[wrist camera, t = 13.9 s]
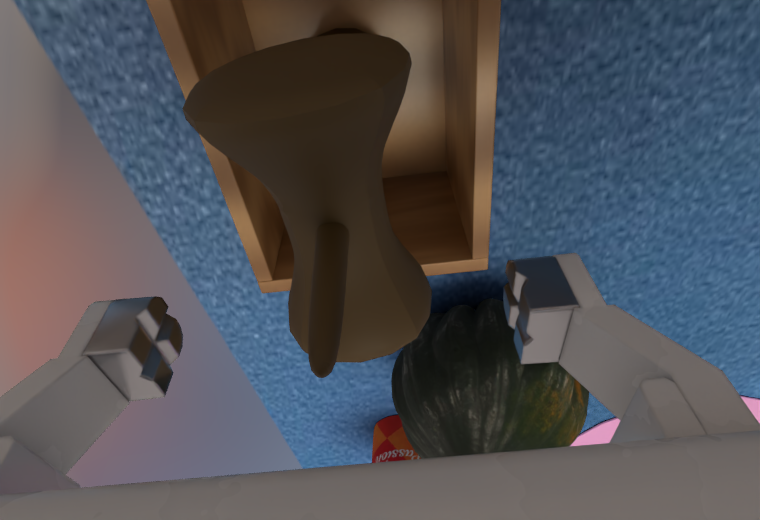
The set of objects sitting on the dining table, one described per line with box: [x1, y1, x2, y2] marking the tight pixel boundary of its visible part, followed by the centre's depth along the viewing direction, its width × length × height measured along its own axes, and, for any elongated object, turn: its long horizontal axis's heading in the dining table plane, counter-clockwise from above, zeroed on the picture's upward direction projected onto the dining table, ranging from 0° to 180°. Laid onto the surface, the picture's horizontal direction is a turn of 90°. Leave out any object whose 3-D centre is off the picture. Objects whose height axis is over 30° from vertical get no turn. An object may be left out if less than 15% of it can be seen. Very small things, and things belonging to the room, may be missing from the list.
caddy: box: [146, 0, 501, 293], centre depth 22 cm, size 15×12×10 cm
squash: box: [391, 298, 589, 459], centre depth 36 cm, size 14×15×15 cm
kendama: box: [183, 28, 432, 378], centre depth 17 cm, size 6×10×20 cm, turn 9°
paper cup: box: [372, 415, 421, 463], centre depth 45 cm, size 8×8×14 cm
